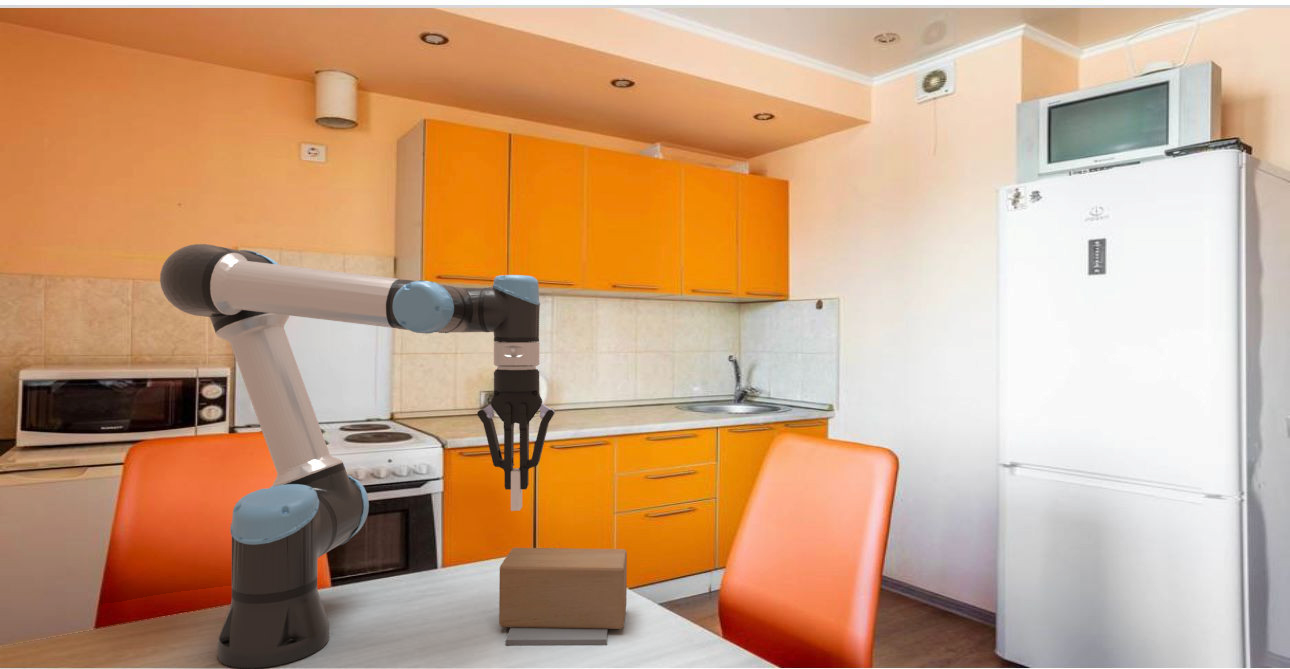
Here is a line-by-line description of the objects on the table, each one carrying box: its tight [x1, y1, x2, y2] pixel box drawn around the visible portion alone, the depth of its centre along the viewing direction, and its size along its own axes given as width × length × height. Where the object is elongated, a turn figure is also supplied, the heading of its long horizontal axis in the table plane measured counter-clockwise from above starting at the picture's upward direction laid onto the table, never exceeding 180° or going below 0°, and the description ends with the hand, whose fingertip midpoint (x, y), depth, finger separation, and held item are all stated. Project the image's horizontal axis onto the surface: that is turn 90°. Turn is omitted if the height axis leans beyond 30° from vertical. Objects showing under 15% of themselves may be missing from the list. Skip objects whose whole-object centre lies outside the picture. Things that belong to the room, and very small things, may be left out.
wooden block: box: [498, 547, 628, 630], centre depth 119 cm, size 10×10×20 cm
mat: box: [505, 627, 608, 646], centre depth 120 cm, size 16×20×1 cm
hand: (516, 508), depth 120 cm, fingers closed
